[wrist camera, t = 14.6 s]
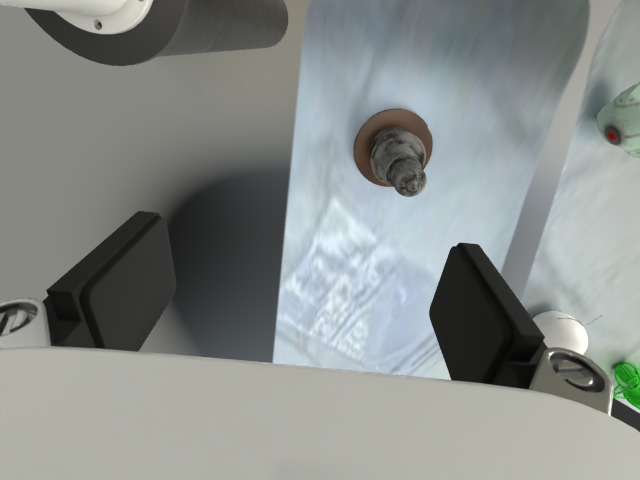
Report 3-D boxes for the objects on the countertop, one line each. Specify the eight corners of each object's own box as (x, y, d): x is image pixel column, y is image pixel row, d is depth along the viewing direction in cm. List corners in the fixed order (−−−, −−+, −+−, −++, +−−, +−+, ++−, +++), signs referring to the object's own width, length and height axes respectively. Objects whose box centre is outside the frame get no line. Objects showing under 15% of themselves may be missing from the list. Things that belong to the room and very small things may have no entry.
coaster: (338, 157, 40) (338, 158, 39) (388, 91, 36) (389, 91, 35) (395, 198, 42) (395, 200, 42) (447, 140, 38) (449, 141, 38)
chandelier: (540, 405, 63) (561, 443, 57) (583, 351, 55) (613, 388, 49) (615, 414, 63) (645, 452, 57) (668, 362, 56) (708, 400, 50)
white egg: (526, 341, 54) (551, 381, 48) (510, 313, 51) (535, 351, 45) (592, 317, 51) (628, 356, 45) (580, 285, 48) (617, 322, 42)
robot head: (625, 138, 38) (679, 155, 32) (586, 156, 39) (631, 176, 33) (615, 70, 34) (673, 76, 28) (573, 93, 35) (620, 103, 30)
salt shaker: (359, 139, 38) (368, 174, 28) (408, 114, 36) (438, 142, 26) (378, 182, 41) (394, 230, 30) (425, 161, 39) (458, 204, 29)
